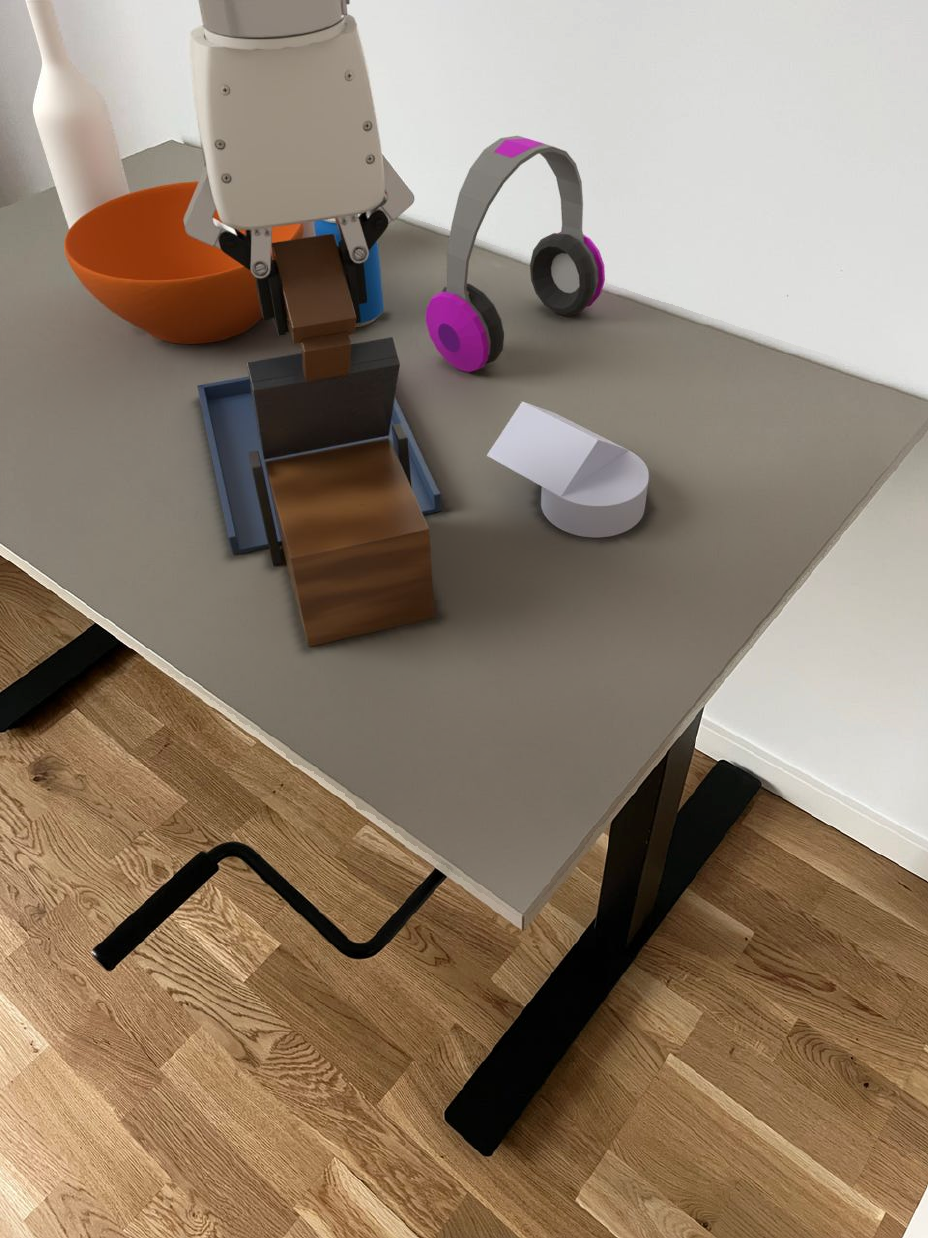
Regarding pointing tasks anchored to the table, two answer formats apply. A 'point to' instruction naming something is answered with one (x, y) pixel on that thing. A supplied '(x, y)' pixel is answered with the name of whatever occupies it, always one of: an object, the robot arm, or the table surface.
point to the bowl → (164, 267)
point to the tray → (238, 435)
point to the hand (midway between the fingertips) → (315, 317)
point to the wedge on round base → (574, 472)
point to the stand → (349, 536)
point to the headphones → (558, 263)
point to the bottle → (73, 124)
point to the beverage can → (372, 274)
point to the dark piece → (321, 361)
